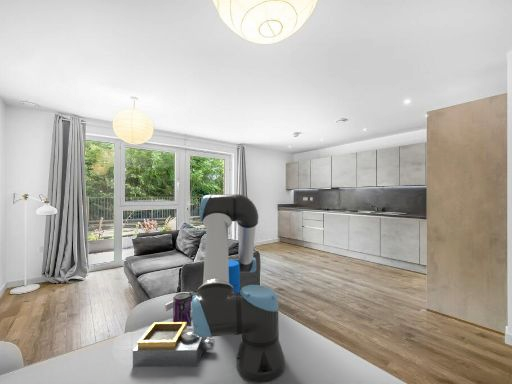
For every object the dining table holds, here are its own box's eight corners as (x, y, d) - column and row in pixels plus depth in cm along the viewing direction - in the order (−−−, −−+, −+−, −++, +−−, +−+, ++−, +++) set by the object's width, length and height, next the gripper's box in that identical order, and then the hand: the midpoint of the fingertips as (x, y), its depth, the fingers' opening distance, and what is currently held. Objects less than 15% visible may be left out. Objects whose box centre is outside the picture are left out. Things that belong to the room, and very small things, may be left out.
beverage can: (186, 330, 95) (185, 299, 95) (169, 328, 97) (169, 298, 97) (194, 321, 102) (193, 292, 102) (178, 319, 104) (178, 291, 104)
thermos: (226, 315, 107) (226, 258, 108) (245, 322, 101) (244, 262, 101) (208, 325, 98) (208, 264, 99) (228, 334, 92) (227, 268, 93)
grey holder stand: (217, 339, 89) (217, 320, 89) (209, 366, 75) (209, 343, 75) (152, 340, 89) (152, 321, 89) (132, 366, 75) (132, 344, 75)
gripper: (232, 304, 111) (202, 327, 92) (190, 295, 122) (156, 314, 103) (231, 288, 111) (202, 307, 92) (189, 280, 122) (156, 296, 103)
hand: (178, 311), depth 98 cm, fingers open, 13 cm apart
